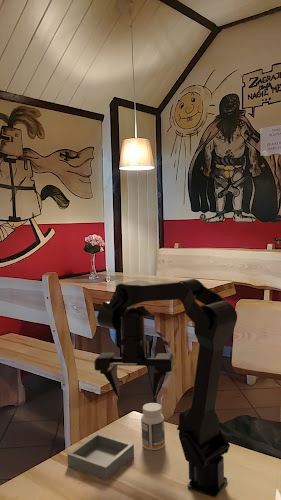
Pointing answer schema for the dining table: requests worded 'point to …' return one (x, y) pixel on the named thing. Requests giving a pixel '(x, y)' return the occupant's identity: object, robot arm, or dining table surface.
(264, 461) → the dining table surface
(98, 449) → the tray
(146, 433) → the pill bottle
